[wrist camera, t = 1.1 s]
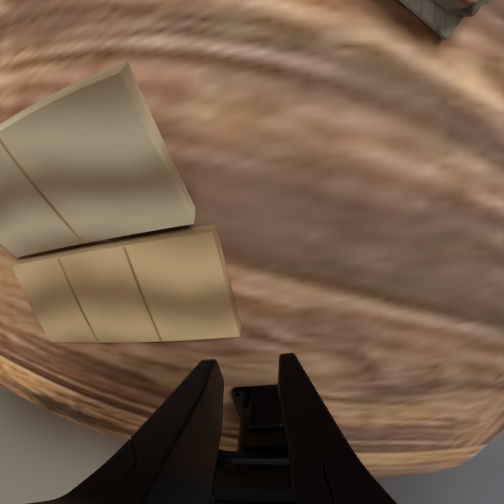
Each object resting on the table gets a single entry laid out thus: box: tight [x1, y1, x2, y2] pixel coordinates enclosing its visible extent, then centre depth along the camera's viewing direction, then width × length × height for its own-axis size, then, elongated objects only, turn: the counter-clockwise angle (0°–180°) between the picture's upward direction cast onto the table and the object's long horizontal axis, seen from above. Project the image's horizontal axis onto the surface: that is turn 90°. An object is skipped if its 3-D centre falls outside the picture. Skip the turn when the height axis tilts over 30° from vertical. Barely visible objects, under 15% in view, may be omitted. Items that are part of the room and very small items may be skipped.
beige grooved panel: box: [0, 62, 195, 257], centre depth 16 cm, size 10×16×1 cm, turn 100°
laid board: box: [12, 224, 241, 343], centre depth 22 cm, size 8×18×1 cm, turn 100°
